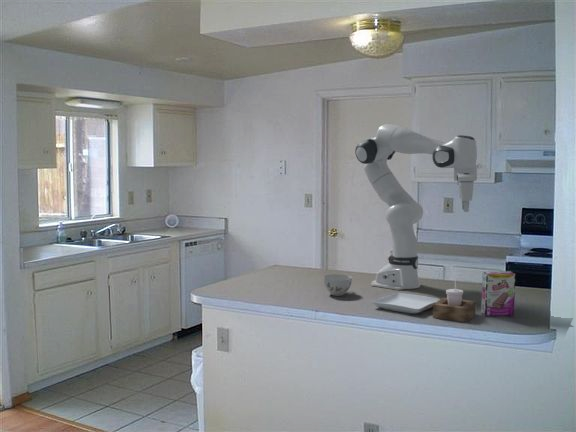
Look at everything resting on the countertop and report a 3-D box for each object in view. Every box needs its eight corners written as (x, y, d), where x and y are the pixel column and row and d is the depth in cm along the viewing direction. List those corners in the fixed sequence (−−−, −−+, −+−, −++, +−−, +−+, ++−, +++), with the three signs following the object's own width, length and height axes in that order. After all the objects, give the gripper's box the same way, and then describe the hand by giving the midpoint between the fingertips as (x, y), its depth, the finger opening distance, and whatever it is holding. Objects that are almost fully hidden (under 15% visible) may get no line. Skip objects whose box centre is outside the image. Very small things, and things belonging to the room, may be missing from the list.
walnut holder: (432, 317, 227) (433, 304, 227) (442, 309, 238) (442, 297, 237) (466, 322, 221) (467, 308, 220) (475, 313, 231) (475, 301, 231)
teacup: (342, 299, 257) (342, 280, 256) (317, 295, 264) (317, 277, 264) (360, 292, 269) (360, 274, 268) (335, 288, 277) (335, 271, 276)
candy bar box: (485, 316, 227) (486, 273, 225) (480, 313, 232) (481, 271, 230) (514, 316, 228) (516, 273, 226) (509, 312, 233) (510, 270, 231)
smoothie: (451, 318, 225) (451, 281, 224) (442, 314, 231) (442, 278, 230) (466, 317, 227) (467, 280, 226) (457, 312, 233) (457, 277, 232)
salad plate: (396, 299, 258) (396, 291, 257) (443, 306, 244) (443, 298, 244) (370, 309, 241) (370, 301, 241) (418, 318, 228) (418, 309, 228)
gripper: (455, 175, 253) (456, 208, 254) (458, 177, 233) (458, 213, 234) (471, 175, 251) (471, 208, 252) (475, 176, 231) (475, 212, 233)
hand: (465, 210), depth 243 cm, fingers open, 8 cm apart
